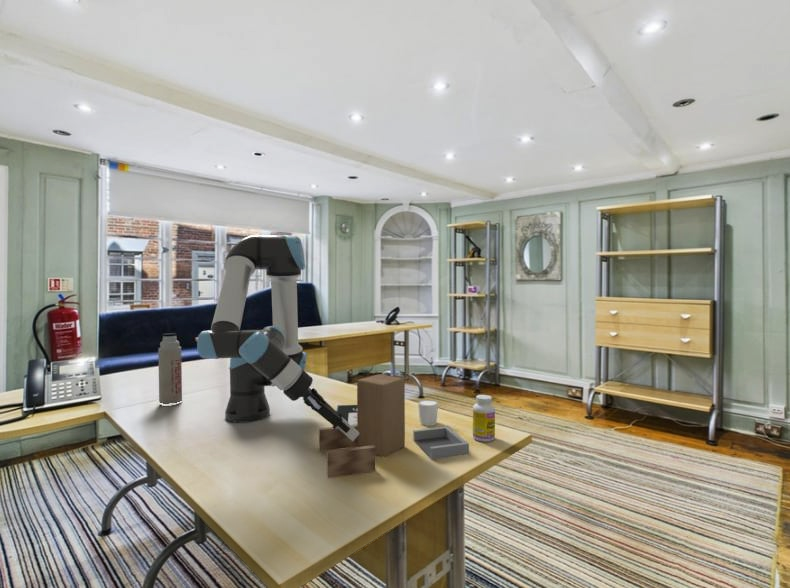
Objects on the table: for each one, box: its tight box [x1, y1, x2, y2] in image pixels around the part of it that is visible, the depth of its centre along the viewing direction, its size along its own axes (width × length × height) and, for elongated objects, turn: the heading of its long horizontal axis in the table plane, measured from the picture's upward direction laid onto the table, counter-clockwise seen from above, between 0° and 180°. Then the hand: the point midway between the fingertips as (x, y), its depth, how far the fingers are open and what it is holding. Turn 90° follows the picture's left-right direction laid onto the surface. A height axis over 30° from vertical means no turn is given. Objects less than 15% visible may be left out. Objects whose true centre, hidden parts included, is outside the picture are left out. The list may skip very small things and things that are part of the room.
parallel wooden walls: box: [318, 424, 376, 478], centre depth 110 cm, size 12×18×6 cm, turn 17°
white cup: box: [417, 399, 439, 427], centre depth 139 cm, size 7×7×7 cm
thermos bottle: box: [157, 332, 183, 404], centre depth 162 cm, size 8×8×28 cm
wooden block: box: [356, 373, 406, 458], centre depth 118 cm, size 10×10×20 cm
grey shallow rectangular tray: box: [412, 426, 470, 460], centre depth 118 cm, size 11×14×3 cm
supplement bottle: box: [472, 394, 496, 443], centre depth 125 cm, size 7×7×13 cm
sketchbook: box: [336, 404, 357, 425], centre depth 143 cm, size 22×30×2 cm
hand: (355, 436), depth 111 cm, fingers closed
